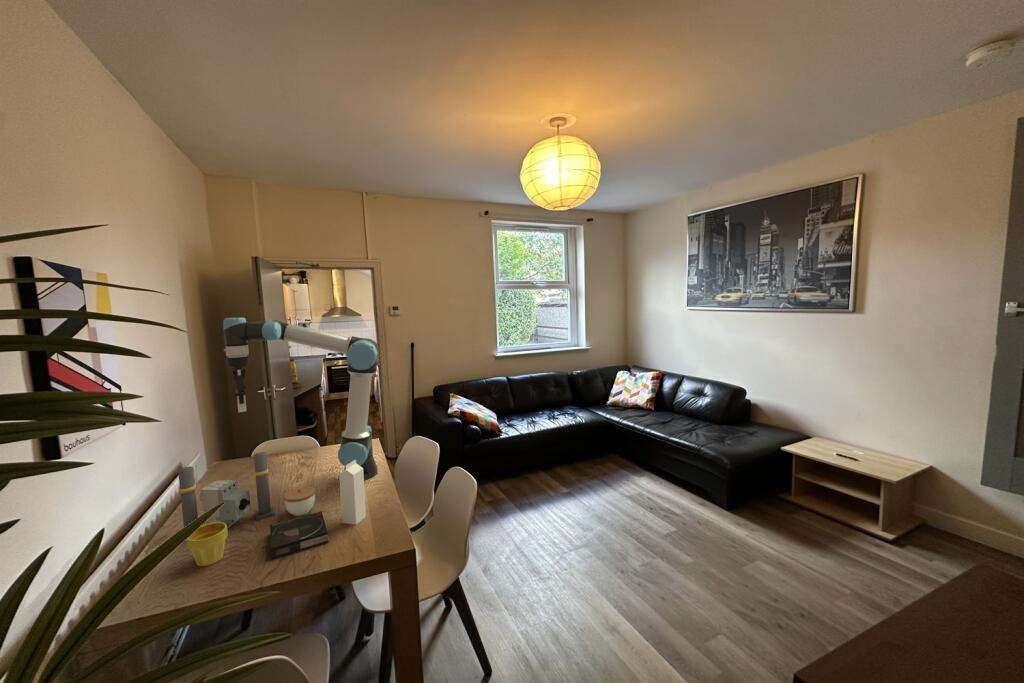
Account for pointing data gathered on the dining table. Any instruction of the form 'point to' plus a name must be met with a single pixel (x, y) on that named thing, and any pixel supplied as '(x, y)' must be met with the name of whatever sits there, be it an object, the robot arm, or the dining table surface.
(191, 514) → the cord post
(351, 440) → the robot arm
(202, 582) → the dining table surface
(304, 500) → the lidded jar
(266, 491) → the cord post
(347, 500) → the milk
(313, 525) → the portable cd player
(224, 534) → the plant pot
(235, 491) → the circuit breaker
